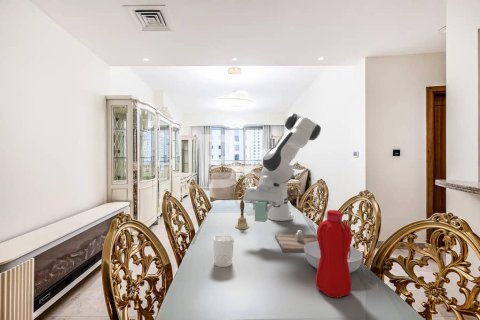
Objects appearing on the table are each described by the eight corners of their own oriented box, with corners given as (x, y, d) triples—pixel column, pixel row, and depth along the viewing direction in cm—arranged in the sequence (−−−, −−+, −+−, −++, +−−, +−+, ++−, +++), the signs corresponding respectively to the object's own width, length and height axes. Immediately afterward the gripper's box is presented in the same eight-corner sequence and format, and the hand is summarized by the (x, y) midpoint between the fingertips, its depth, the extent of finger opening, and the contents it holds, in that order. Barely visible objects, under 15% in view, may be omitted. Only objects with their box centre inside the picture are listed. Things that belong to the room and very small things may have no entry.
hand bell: (232, 228, 151) (233, 200, 151) (238, 224, 158) (238, 198, 158) (246, 229, 148) (246, 201, 147) (251, 226, 155) (251, 199, 155)
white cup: (217, 269, 96) (218, 242, 96) (210, 261, 103) (210, 236, 103) (237, 265, 99) (237, 239, 99) (228, 258, 106) (228, 233, 106)
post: (295, 239, 126) (295, 229, 126) (301, 239, 126) (301, 229, 126) (297, 241, 123) (297, 231, 123) (303, 241, 123) (303, 231, 123)
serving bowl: (300, 275, 92) (300, 256, 92) (306, 254, 111) (306, 238, 111) (365, 286, 84) (366, 265, 84) (359, 261, 104) (360, 244, 104)
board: (274, 237, 134) (274, 234, 134) (313, 237, 135) (313, 234, 135) (282, 251, 114) (282, 248, 114) (327, 251, 115) (328, 248, 115)
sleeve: (257, 218, 129) (257, 200, 129) (267, 219, 127) (267, 201, 127) (254, 221, 124) (254, 202, 124) (265, 222, 123) (265, 202, 122)
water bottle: (336, 304, 74) (338, 216, 73) (311, 286, 84) (312, 208, 83) (360, 297, 77) (362, 213, 77) (333, 281, 87) (334, 206, 87)
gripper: (245, 183, 136) (239, 205, 126) (284, 184, 129) (280, 207, 120) (248, 190, 140) (242, 212, 131) (286, 192, 133) (282, 215, 124)
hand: (261, 210), depth 125 cm, fingers closed on sleeve, 5 cm apart
